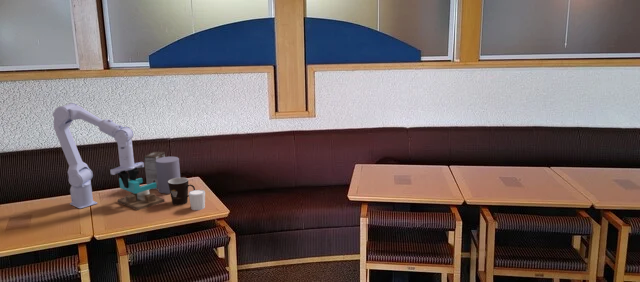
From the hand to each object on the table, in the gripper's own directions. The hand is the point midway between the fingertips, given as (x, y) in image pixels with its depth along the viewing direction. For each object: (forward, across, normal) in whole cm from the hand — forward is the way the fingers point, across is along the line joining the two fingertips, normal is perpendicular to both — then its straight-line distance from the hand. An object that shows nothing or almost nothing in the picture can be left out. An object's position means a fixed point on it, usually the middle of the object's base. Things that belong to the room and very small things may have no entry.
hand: (129, 186), depth 225 cm
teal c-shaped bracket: (+2, +4, 0) cm, 4 cm away
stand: (+8, +5, 0) cm, 9 cm away
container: (+8, +22, +3) cm, 23 cm away
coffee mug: (+8, +14, -16) cm, 23 cm away
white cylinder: (+9, +16, -26) cm, 31 cm away
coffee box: (+8, +22, +13) cm, 27 cm away
